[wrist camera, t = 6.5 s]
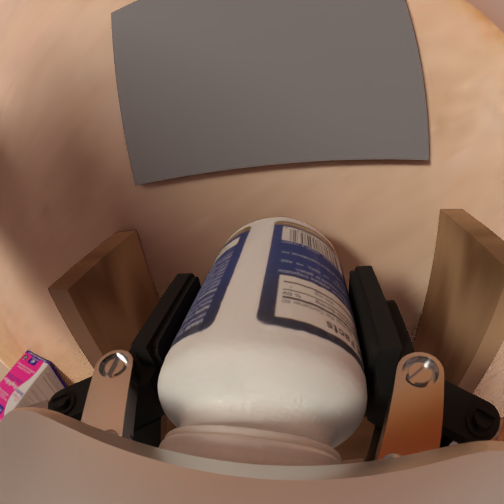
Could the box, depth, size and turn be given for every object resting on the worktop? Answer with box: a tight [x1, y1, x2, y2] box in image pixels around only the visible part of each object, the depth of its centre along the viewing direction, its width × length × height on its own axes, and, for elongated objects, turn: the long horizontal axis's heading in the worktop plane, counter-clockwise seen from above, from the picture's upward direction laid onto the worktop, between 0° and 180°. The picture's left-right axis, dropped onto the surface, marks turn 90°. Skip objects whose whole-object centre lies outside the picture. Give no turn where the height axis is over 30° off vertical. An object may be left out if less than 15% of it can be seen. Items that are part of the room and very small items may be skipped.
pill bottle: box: [158, 217, 367, 466], centre depth 8 cm, size 5×5×10 cm
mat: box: [111, 0, 429, 186], centre depth 9 cm, size 10×14×1 cm
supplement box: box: [0, 350, 68, 420], centre depth 22 cm, size 6×6×12 cm
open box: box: [48, 209, 504, 464], centre depth 13 cm, size 15×19×6 cm
